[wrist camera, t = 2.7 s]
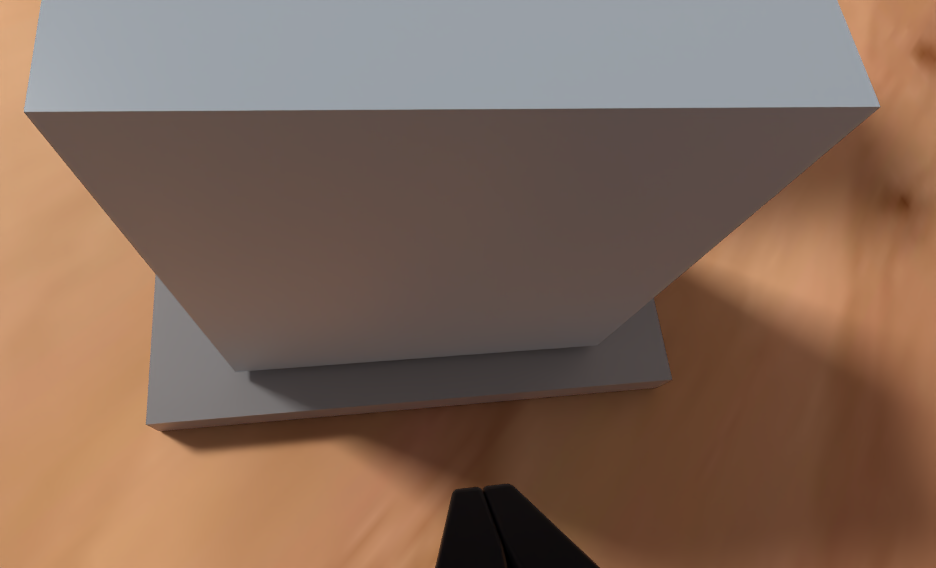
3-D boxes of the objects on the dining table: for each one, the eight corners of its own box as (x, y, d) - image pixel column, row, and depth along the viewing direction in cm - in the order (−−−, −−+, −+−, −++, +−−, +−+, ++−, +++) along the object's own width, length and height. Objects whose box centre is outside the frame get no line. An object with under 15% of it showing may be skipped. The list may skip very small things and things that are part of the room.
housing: (656, 387, 18) (1127, 143, 7) (159, 431, 16) (-357, 172, 4) (565, -30, 23) (742, -545, 12) (186, -43, 21) (-18, -689, 10)
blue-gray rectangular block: (597, 345, 17) (880, 106, 7) (235, 372, 15) (23, 112, 6) (565, 178, 18) (762, -184, 9) (238, 186, 17) (79, -238, 8)
